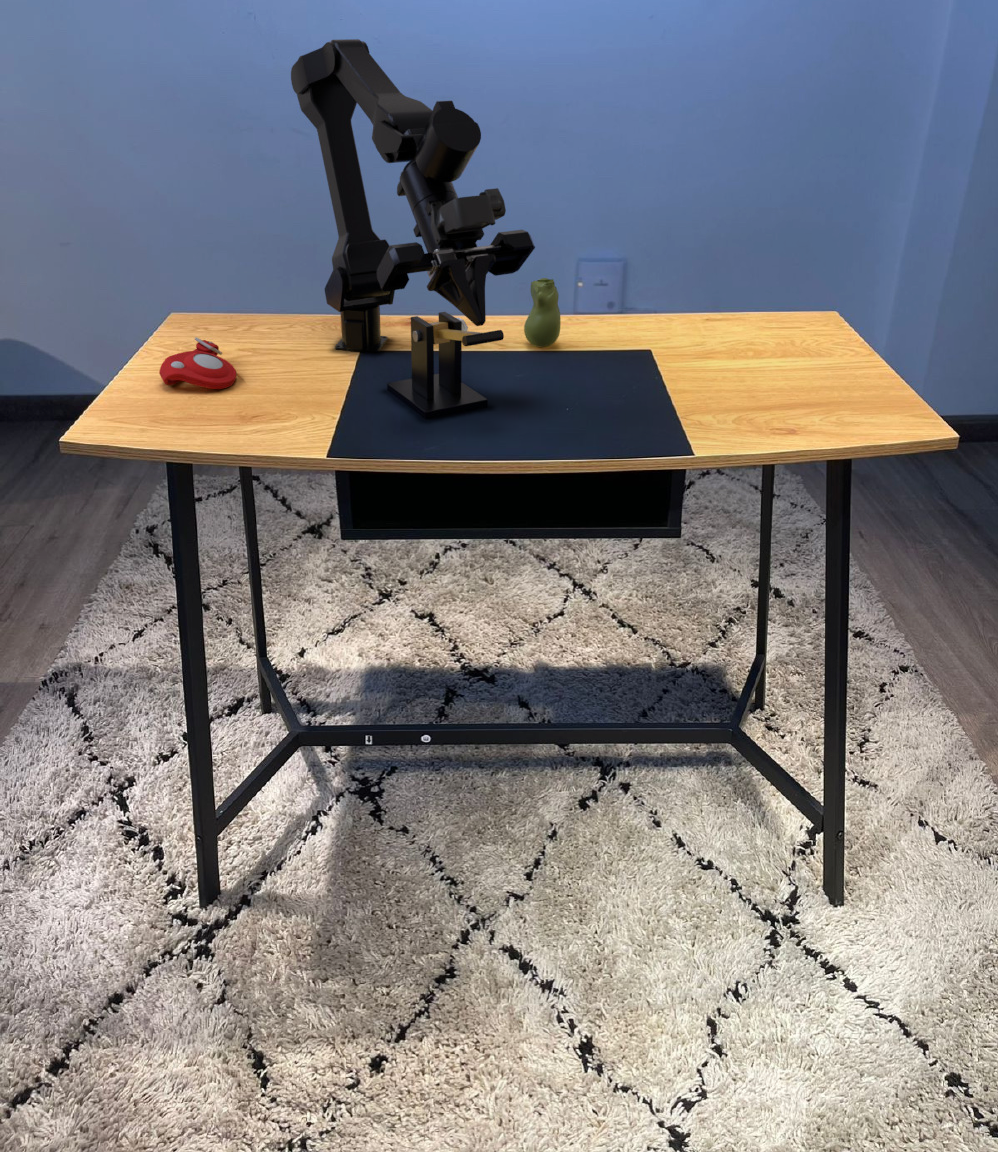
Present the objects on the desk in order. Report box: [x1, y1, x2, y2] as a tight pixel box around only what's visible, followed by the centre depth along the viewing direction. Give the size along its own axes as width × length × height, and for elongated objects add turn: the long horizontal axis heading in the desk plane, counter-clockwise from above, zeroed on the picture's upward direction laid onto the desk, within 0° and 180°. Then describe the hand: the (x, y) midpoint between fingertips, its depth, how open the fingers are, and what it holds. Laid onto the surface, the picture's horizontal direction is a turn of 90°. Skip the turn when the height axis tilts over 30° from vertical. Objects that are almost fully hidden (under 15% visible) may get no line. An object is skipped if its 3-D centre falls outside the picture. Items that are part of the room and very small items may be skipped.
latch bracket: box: [386, 311, 488, 420], centre depth 131 cm, size 11×9×11 cm
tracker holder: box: [158, 336, 237, 390], centre depth 137 cm, size 12×4×10 cm
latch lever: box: [428, 321, 505, 347], centre depth 124 cm, size 14×5×2 cm, turn 31°
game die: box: [456, 317, 469, 331], centre depth 153 cm, size 4×4×3 cm
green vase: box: [523, 277, 562, 348], centre depth 150 cm, size 6×5×10 cm
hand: (481, 324), depth 119 cm, fingers closed
